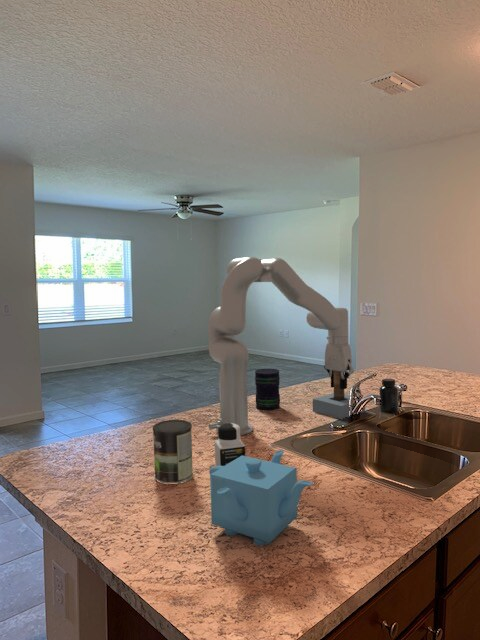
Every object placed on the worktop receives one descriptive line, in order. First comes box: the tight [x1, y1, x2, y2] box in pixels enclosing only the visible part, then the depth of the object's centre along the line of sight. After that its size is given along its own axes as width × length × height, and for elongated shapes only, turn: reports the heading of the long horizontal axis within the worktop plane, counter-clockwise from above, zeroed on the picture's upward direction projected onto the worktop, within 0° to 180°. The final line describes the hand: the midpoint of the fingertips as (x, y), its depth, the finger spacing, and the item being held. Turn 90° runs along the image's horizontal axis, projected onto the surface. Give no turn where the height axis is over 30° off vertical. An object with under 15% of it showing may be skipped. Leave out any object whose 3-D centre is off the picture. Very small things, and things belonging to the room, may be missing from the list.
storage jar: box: [254, 368, 281, 412], centre depth 188 cm, size 10×10×15 cm
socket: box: [312, 392, 366, 420], centre depth 181 cm, size 14×14×5 cm
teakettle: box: [209, 449, 314, 547], centre depth 98 cm, size 19×19×15 cm
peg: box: [333, 370, 345, 400], centre depth 180 cm, size 4×4×12 cm
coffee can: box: [152, 419, 194, 484], centre depth 125 cm, size 10×10×14 cm
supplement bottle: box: [379, 378, 399, 413], centre depth 180 cm, size 7×7×12 cm
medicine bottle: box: [214, 423, 246, 466], centre depth 131 cm, size 7×7×12 cm
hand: (338, 387), depth 180 cm, fingers closed on peg, 4 cm apart
